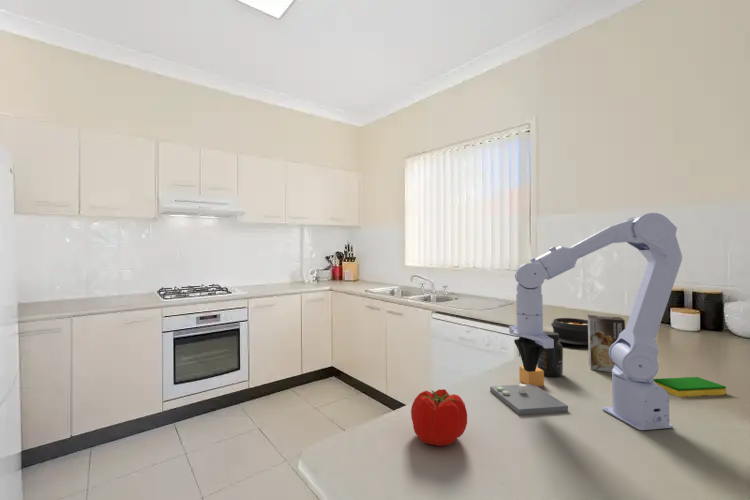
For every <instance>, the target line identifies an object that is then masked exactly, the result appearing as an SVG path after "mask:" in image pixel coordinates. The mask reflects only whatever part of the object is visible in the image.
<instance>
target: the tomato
mask: <svg viewBox="0 0 750 500" xmlns="http://www.w3.org/2000/svg"><path fill="white" fill-rule="evenodd" d="M430 391H431V392H430ZM410 414H411V416H410V417H411V421H412V422H411V423H412V427H413V430H414V434H416V436H417V437H418V438H419V440H420V441H421V442H423V443H425V444H426V445H432V446H438V447H445V446H448V445H452V444H453V443H454V442H455V441H456V440H457V439H459V438H460V437H461V436H462V435H463V434H464V432H465V430H466V428H467V424H468V413H467V408H466V404H465V402H464V400H463V399H462V398H461V396H460V395H458V394H455V393H454V394H450V393H449V392H448V391H447V390H446V389H437V390H435V391H434V390H432V389H431V390H429V391H428V390H424V391H422V392H420V393H418V395H417V396H416V397H415V398H414V400H413V402H412V406H411V409H410Z"/></svg>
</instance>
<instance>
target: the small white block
mask: <svg viewBox="0 0 750 500" xmlns="http://www.w3.org/2000/svg"><path fill="white" fill-rule="evenodd" d="M517 385H518V392H519V393H521V394H523V393H527V386H526V385H525V384H524V383H519V384H517Z"/></svg>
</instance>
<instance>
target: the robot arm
mask: <svg viewBox="0 0 750 500" xmlns="http://www.w3.org/2000/svg"><path fill="white" fill-rule="evenodd" d="M677 229H678V227H677V226H676V225H675V224H674V223H672V221H671V220H670V219H669V218H668V217H667V216H665V215H663V214H662V213H658V212H649V213H645V214H643V215H640V216H635V217H630V218H628V219H627V218H626V220H624V221H620V222H618V223H614V224H612V225H609V226H607V227H604V228H603V229H601V230H599V231H598V232H596V233H594V234H592V235H590V236H588V237H587V238H584V239H583V240H581V241H579V242H577V243H576V244H574V245H571V246H570V247H566V246H563V245H559V246H558V247H557V246H554V245H553V246H552V247H550V248H548V250H549V251H547V252H546V253H545V252H544V254H542V255H539V256H537V257H536V258H535V257H531V258H530V259H529V261H530V262H529V263H522V264H521V265H519V266H518V267H517V269H516V271H515V274H514V278H515V282H517V285H516V294H515V298H516V299H515V301H516V302H515V303H516V305H515V307H516V308H515V311H516V313H515V314H516V325H509V328H508V329H509V330H508V331H509V332H508V333H509V334H511V335H512V336H515V337H519V338H518V339H516V338H515V339H514V341H513V342H514V344H515V346H516V349H517V350H518V353H519V355H520V359H521V361H522V366H524V370H526V371H527V372H532V371H535V370H536V367H537V363H538V360H539V357H540V355H541V353H542V351H543V349H544V348H554V339H551V338H550V337H548V336H547V335H546V334H544V333H543V332H544V331H543V330H544V328H543V327H544V325H543V323H544V319H543V318H544V317H543V316H544V314H543V313H544V311H543V304H544V303H543V294H542V285H543V284H544V281H545V280H548V281H549V280H552V279H554V278H555V277H557V276H560V275H561V274H563V273H565V272H568V271H570V270H572V269H574V268H575V267H576V264H577V261H578V260H579V259H580V258H583V257H586V256H588V255H589V254H592V253H595V252H596V251H599V250H601V249H603V248H605V247H608V246H609V245H612V244H620V243H622V244H623V243H627V244H629V245H630V246H631V247H633V248H635V249H637V250H638V251H639V253H641V255H642V256H643V257H644V258H645V259H646V261H647V263H646V267H645V270H644V273H643V276H642V279H641V282H640V285H639V288H638V290H637V294H636V297H635V299H634V303H633V306H632V309H631V312H630V315H629V318H628V320H627V324H626V325H625V329H624V330H623V331H622V332H621V333H620V334H619V337H618V339H617V341H616V342H615V343H613V344H612V345H611V347H610V348H609V357H610V359H611V360H612V362H613V363H614V364H615V365H614V368H613V369H612V372H611V399H612V401H611V406H603V407H602V408H601V409H602V411H604V412H606V413H608V414H610V415H611V416H613V417H615V418H617V419H618V420H620V421H622V422H624V423H626V424H627V425H629V426H632V427H633V428H635V429H636V430H639V431H649V430H661V429H670V428H673V427H674V425H673V424H671V423H670V396H669V393H668V392H667V391H666V390H665V389H664V388H662V387H660V386H659V385H657V384H656V383H655V381H654V379H655V377H656V376H657V375H658V373H659V362H658V355H659V352H660V351H659V350H660V349H659V346H658V343H657V339H656V338H657V335H658V331H659V330H660V326H661V322H662V319H663V317H664V314H665V312H666V309H667V306H668V302H669V299H670V296H671V294H672V290H673V288H674V284H675V282H676V279H677V275H678V274H679V270H680V267H681V264H682V261H683V254H682V250H681V248H680V245H679V241H678V238H677Z"/></svg>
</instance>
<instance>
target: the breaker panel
mask: <svg viewBox="0 0 750 500" xmlns="http://www.w3.org/2000/svg"><path fill="white" fill-rule="evenodd" d="M525 385H526V386H527V393H523V394H521V393H519V392H518V384H511V385H510V384H509V385H506V384H505V385H494V386H489V392H490V393H492V394H493V395H495V397H497V398H498V399H499V400H500V401H502V403H504V404H505V405H507V406H508V407H509V408H510V409H511V410H512V411H514V412H515V413H516V414H517V415H518V416H523V415H534V414H535V415H536V414H549V413H551V414H552V413H562V412H563V413H565V412H569V405H567V404H566V403H564V402H562V401H561V400H559V399H558V398H557V397H554V396H553V395H552V394H550V393H549V392H546V390H543V389H542V388H540V387H539V386H535V385H534V384H525Z"/></svg>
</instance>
